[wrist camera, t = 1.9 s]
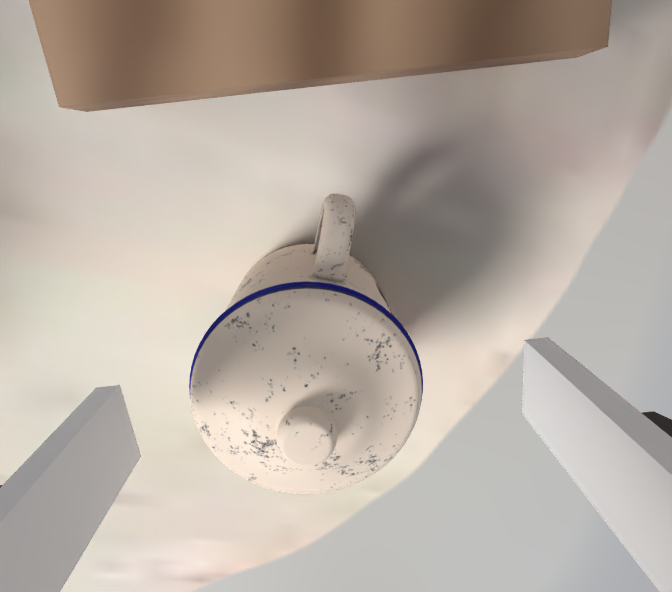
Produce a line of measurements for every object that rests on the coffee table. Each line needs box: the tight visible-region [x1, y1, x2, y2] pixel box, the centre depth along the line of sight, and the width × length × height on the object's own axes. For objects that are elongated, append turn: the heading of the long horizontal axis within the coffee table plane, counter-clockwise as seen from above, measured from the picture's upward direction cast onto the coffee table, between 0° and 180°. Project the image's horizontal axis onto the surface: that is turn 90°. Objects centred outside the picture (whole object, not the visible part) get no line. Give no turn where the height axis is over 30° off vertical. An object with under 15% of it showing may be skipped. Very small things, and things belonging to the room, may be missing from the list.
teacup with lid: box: [189, 194, 423, 494], centre depth 19 cm, size 12×9×12 cm
